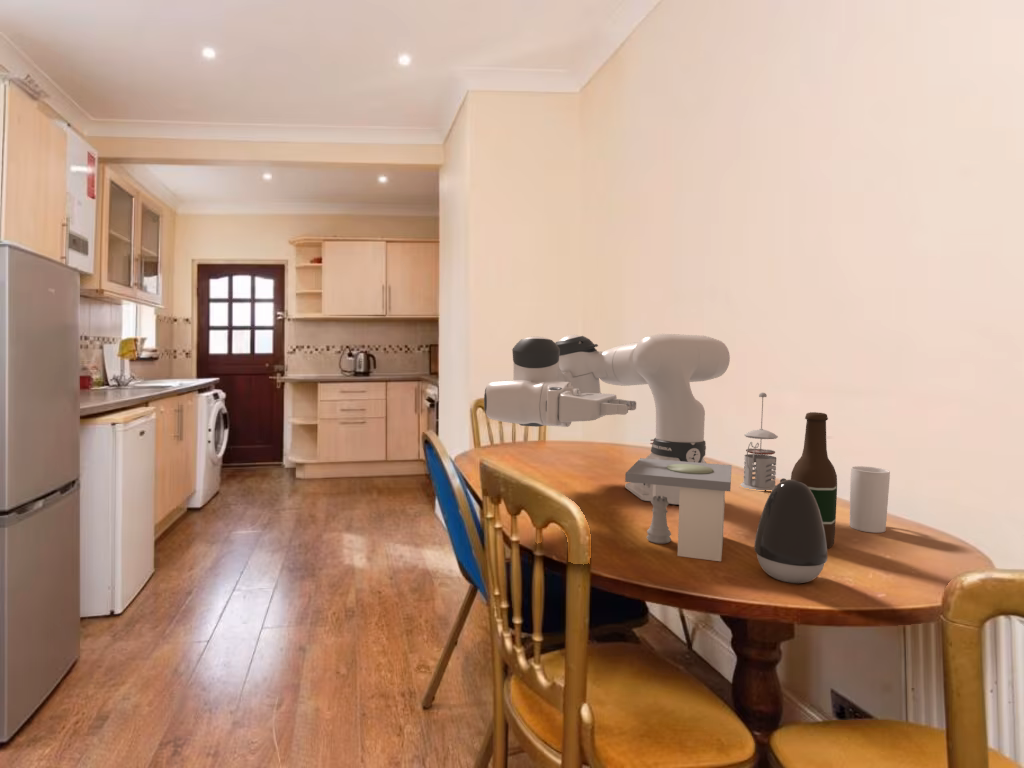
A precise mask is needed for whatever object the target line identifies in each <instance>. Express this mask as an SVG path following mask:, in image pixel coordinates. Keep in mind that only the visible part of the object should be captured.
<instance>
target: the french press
mask: <svg viewBox="0 0 1024 768" xmlns="http://www.w3.org/2000/svg"><path fill="white" fill-rule="evenodd" d="M758 397H759V398H761V399H762V401H761V416H764V415H763V412H764V411H763V410H764V398H767V393H766V392H760V393H759V394H758ZM760 421H761V422H760V423H761V424H760V428H759V429H752V430H750V431H748V432H746V433H745V434H744V437H745V438H750V439H757V440H760V441H762V440H775V439H777V438H779V436H778V435H777V434H775V432H774V433H773V432H771V431H769V430H767V429H763V418H761V420H760ZM750 446H751V448H750ZM759 447H760V448H759ZM745 451H746V454H744V456H743V457H744V459H743V460H744V462H743V464H744V466H743V482H741V483H740V484H739V485H741V486H742V487H744V488H749V489H756V490H773V489H774V488H775V487H776V485H777V484H776V475H777V472H776V470H777V467H776V466H777V457H776V456H772V455H774V454H775V453H776V451H775V450H772V449H764V448H762V442H760V443H759V442H756V444H755V446H754V445H753V442H752V441H750V443H749V444H748V447H747V449H745ZM754 477H755V478H754ZM744 488H743V489H744Z"/></svg>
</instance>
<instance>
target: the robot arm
mask: <svg viewBox="0 0 1024 768" xmlns="http://www.w3.org/2000/svg"><path fill="white" fill-rule="evenodd" d="M597 347H599V345H598V344H597V343H593V341H592V340H591V339H590V338H588V337H586V336H584V335H578V334H570V335H569V334H568V335H565V336H563V337H562V338H560V339H558V341H554V340H553V339H549V338H548V337H544V336H528V337H525V338H522V339H519V341H518V342H517V343H516V344H514V346H513V348H512V349H511V350H512V361H513V379H509V380H507V379H506V380H500V381H499V380H497V381H490V382H488V383H487V385H486V387H485V388H484V389H485V390H484V394H483V395H484V396H483V410H484V413H485V415H486V417H487V418H488V419H490V420H493V421H497V422H503V423H508V424H509V423H510V424H516V425H517V424H518V425H519V426H520V427H521V426H523V427H544V426H548V427H561V428H568V427H570V426H571V425H572V423H574V422H590V421H591V422H592V421H596V420H599V419H600V418H603V417H606V416H612V415H613V416H614V415H620V416H621V415H623V416H625V415H627V414H628V413H629V411H635V410H637V401H635V400H626V399H623V398H622V399H621V398H617V395H616V394H614V393H602V392H601V383H600V380H601V381H602V382H604V383H605V384H608V385H613V386H624V387H625V386H626V387H627V386H628V387H630V386H640V385H641V386H643V385H647V386H649V389H650V391H651V393H652V397H653V400H654V405H655V438H653V439H650V441H651V442H650V443H649V444H650V445H651V447H650V454H649V455H647V456H646V457H645V459H658V460H671V461H684V462H697V463H707V462H706V461H705V458H704V457H705V456H706V450H707V446H706V445H707V444H706V440H705V418H706V417H705V415H706V413H705V412H706V411H705V408H704V405H703V404H702V403H701V402H700V401H699V400H698V399H696V398H695V396H694V394H693V392H692V388H691V383H693V382H695V383H697V382H705V381H710V380H714V379H717V378H719V377H722V376H723V375H724V374H725V373H726V372H727V370H728V368H729V365H730V363H731V362H730V358H731V357H730V356H731V355H730V351H729V348H728V347H727V345H726V343H724V342H723V341H722V340H719V339H716V338H714V337H710V336H706V335H697V334H695V335H694V334H675V333H674V334H673V333H658V334H653V335H649V336H648V335H647V336H646V337H643V338H640V340H639V341H637V342H632V343H631V342H630V343H625V344H620V345H617V346H614V347H610V348H608V349H606V350H601V351H599V350H598V349H596V348H597ZM624 487H625V489H627V490H628V491H630V492H631V493H632V494H633V495H635V496H636V497H637V498H638V499H640V500H641V501H645V502H651V501H652V500H653V497H654V496H657V498H658V496H661V498H662V499H663V496H664V497H667V501H668V502H669V504H668V505H679V496H680V487H676V486H665V485H654V484H643V483H632V482H626V483H625V486H624Z"/></svg>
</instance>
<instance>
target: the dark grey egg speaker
mask: <svg viewBox="0 0 1024 768" xmlns="http://www.w3.org/2000/svg"><path fill="white" fill-rule="evenodd" d="M775 485H776V487H775V488H774V489H773V490H772V492H770V493H769V495H768V497H767V500H766V502H765V505H764V507H763V510H762V512H761V515H760V518H759V521H758V525H757V528H756V529H757V530H756V534H755V540H754V549H753V550H754V552H755V553H756V558H757V561H758V563H759V565H760V567H761V568H762V570H763V571H764V572H765V573H766V574H767V575H769V576H770V577H772V578H773V579H774V580H775V579H776V580H778V581H781V582H784V583H788V584H789V583H790V584H804V583H809V582H811V581H813V580H814V579H817V578H818V576H820V574H821V573H822V571H823V568H824V566H825V564H826V563H827V561H828V549H827V543H826V536H825V530H824V525H823V521H822V517H821V513H820V510H819V507H818V504H817V502H816V499H815V497H814V495H813V493H812V492H811V490H810V489H809V487H808V486H807V485H805V484H804V483H802V482H800V481H798V480H791V479H786V478H781V479H780V480H779V482H778V483H777V484H775Z"/></svg>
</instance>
